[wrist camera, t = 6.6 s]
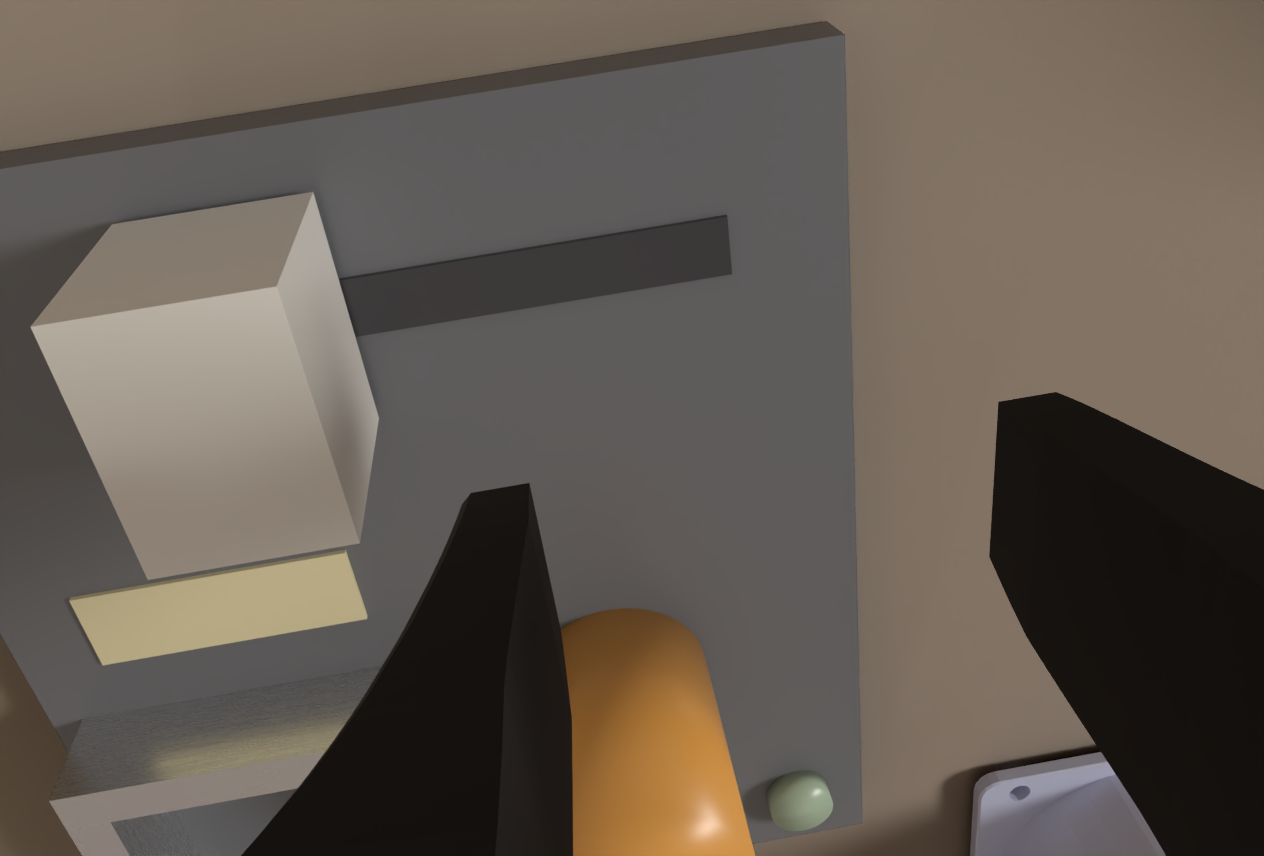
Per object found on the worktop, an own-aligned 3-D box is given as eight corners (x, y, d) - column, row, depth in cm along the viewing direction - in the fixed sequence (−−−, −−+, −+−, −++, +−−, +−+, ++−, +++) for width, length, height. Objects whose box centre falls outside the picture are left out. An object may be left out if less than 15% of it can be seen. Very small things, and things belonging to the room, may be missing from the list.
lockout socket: (429, 657, 22) (425, 733, 20) (495, 874, 25) (496, 954, 24) (83, 718, 21) (48, 801, 20) (199, 929, 25) (178, 1014, 23)
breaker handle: (313, 191, 16) (276, 285, 13) (379, 417, 19) (360, 543, 16) (111, 223, 16) (30, 326, 13) (201, 448, 18) (148, 580, 15)
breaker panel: (826, 21, 17) (854, 41, 16) (850, 789, 27) (868, 841, 25) (-208, 185, 17) (-265, 220, 15) (191, 911, 26) (176, 970, 25)
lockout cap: (697, 594, 22) (750, 796, 17) (712, 722, 24) (765, 934, 19) (516, 625, 22) (525, 838, 17) (546, 752, 23) (561, 971, 19)
